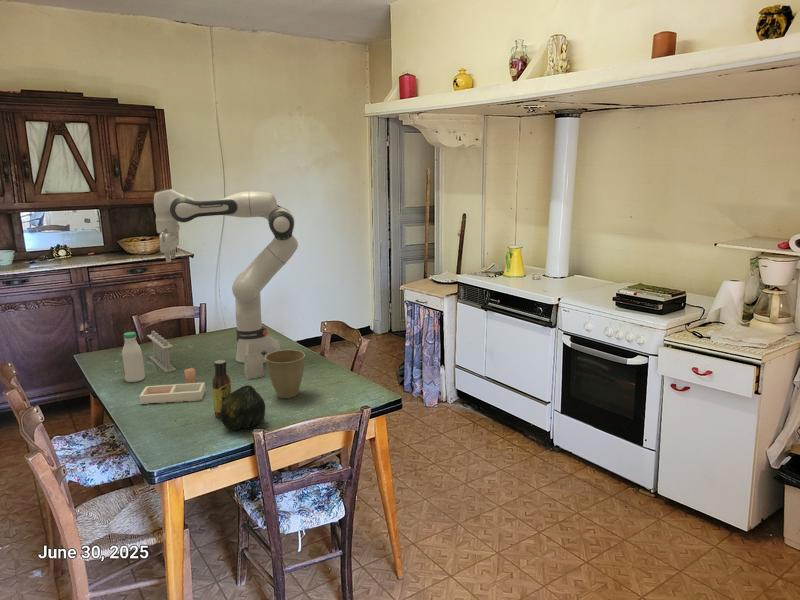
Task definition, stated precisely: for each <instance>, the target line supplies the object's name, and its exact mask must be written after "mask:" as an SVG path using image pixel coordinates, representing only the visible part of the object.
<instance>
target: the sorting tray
mask: <svg viewBox="0 0 800 600" xmlns="http://www.w3.org/2000/svg"><path fill="white" fill-rule="evenodd" d="M205 394H206V383H205V381H203V382H196V383H188V384H186V383H176V384H174V383H173V384H162V385H147V386H144V388H143V390H142V391H141V393H140V395H139V396H138V397H139V404H147V405H149V404H148V403H161V404H167V403H166V402H175V403H184V402H183V401H188V402H200V401H201V400H202V401H203V398H204V396H205Z"/></svg>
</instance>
